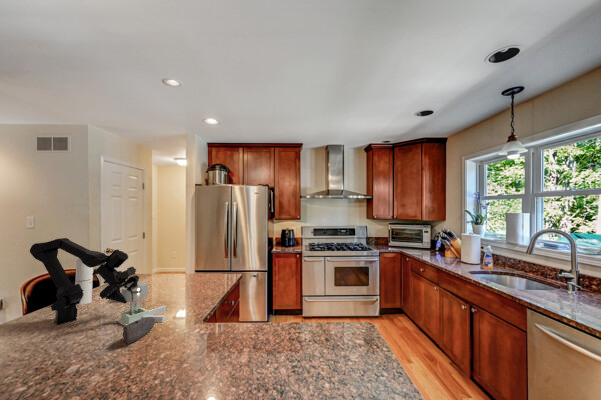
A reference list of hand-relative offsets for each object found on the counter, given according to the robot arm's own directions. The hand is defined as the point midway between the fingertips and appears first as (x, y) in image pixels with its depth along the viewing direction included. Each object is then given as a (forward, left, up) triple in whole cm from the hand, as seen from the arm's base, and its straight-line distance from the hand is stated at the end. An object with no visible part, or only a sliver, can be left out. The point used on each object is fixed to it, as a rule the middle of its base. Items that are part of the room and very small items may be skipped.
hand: (133, 299), depth 112 cm
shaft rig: (+5, -5, -10) cm, 12 cm away
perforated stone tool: (-5, -19, -10) cm, 22 cm away
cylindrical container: (-5, +48, -10) cm, 49 cm away
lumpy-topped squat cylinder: (+13, +33, -10) cm, 37 cm away
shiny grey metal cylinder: (+1, -1, -9) cm, 9 cm away
